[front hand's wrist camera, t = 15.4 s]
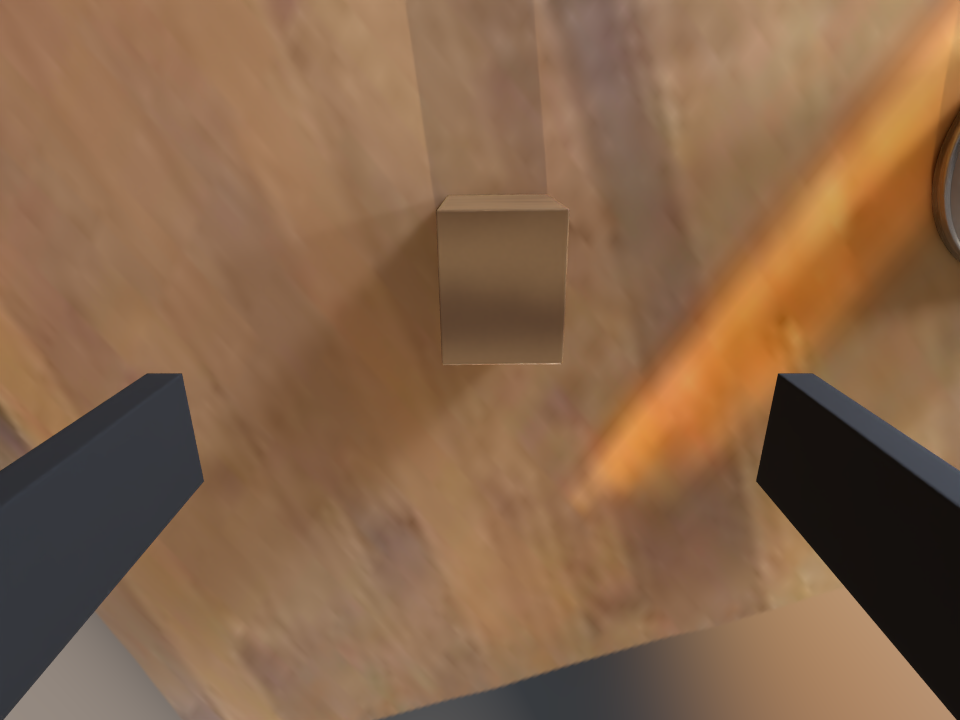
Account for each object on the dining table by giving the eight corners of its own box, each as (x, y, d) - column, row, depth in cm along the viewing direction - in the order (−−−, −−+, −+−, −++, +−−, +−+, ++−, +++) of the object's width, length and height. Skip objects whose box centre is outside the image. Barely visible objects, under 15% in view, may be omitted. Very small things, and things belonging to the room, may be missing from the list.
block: (447, 195, 35) (435, 210, 27) (548, 193, 35) (569, 208, 27) (451, 316, 38) (441, 365, 30) (544, 315, 38) (562, 364, 30)
